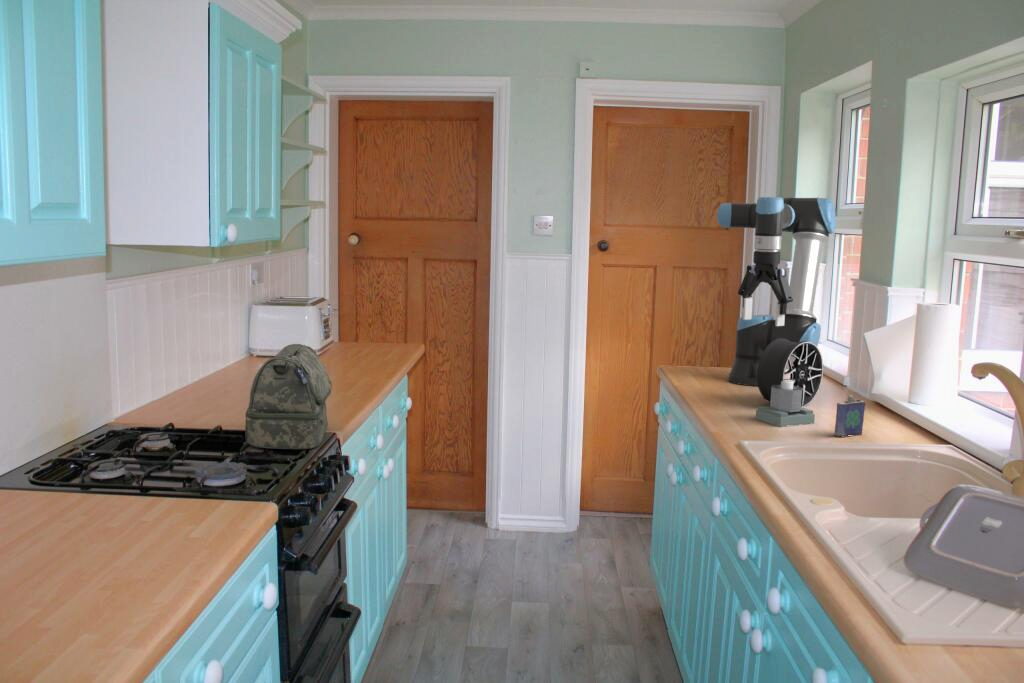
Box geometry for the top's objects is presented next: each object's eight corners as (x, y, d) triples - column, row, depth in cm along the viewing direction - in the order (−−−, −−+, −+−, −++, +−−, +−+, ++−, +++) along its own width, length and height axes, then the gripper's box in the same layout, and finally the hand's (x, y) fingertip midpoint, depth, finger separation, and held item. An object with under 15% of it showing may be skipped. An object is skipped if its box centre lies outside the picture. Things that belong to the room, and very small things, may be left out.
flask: (839, 438, 218) (842, 397, 217) (830, 435, 221) (833, 395, 219) (864, 434, 222) (868, 394, 221) (855, 432, 225) (859, 392, 223)
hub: (786, 404, 240) (787, 383, 239) (806, 410, 233) (808, 389, 232) (764, 406, 237) (765, 385, 236) (784, 412, 230) (785, 391, 229)
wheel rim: (780, 411, 247) (785, 343, 244) (754, 405, 254) (759, 339, 251) (820, 404, 259) (825, 339, 256) (794, 398, 266) (799, 335, 263)
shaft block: (788, 415, 242) (791, 377, 241) (814, 423, 234) (817, 384, 232) (755, 418, 237) (758, 380, 236) (780, 426, 228) (783, 386, 227)
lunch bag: (321, 452, 193) (320, 358, 190) (239, 453, 191) (237, 357, 188) (334, 425, 218) (334, 341, 215) (262, 424, 217) (261, 340, 214)
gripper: (728, 248, 256) (724, 317, 260) (789, 253, 234) (784, 329, 238) (747, 247, 260) (743, 316, 263) (809, 253, 238) (804, 327, 241)
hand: (763, 322), depth 251 cm, fingers open, 13 cm apart
